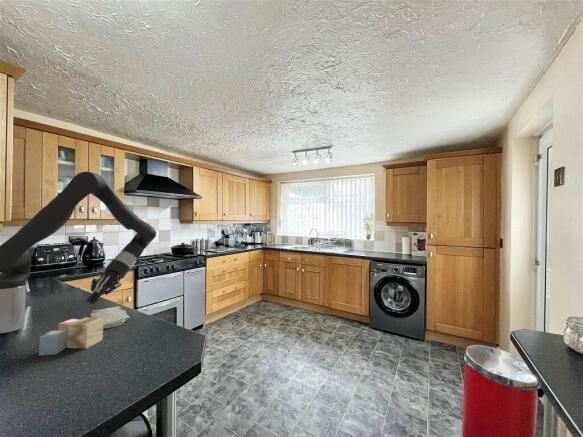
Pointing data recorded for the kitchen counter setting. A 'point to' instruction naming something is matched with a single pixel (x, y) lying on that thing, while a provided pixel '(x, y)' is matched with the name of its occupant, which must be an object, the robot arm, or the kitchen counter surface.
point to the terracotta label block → (66, 324)
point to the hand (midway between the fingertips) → (89, 303)
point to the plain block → (85, 333)
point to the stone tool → (110, 316)
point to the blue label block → (53, 342)
